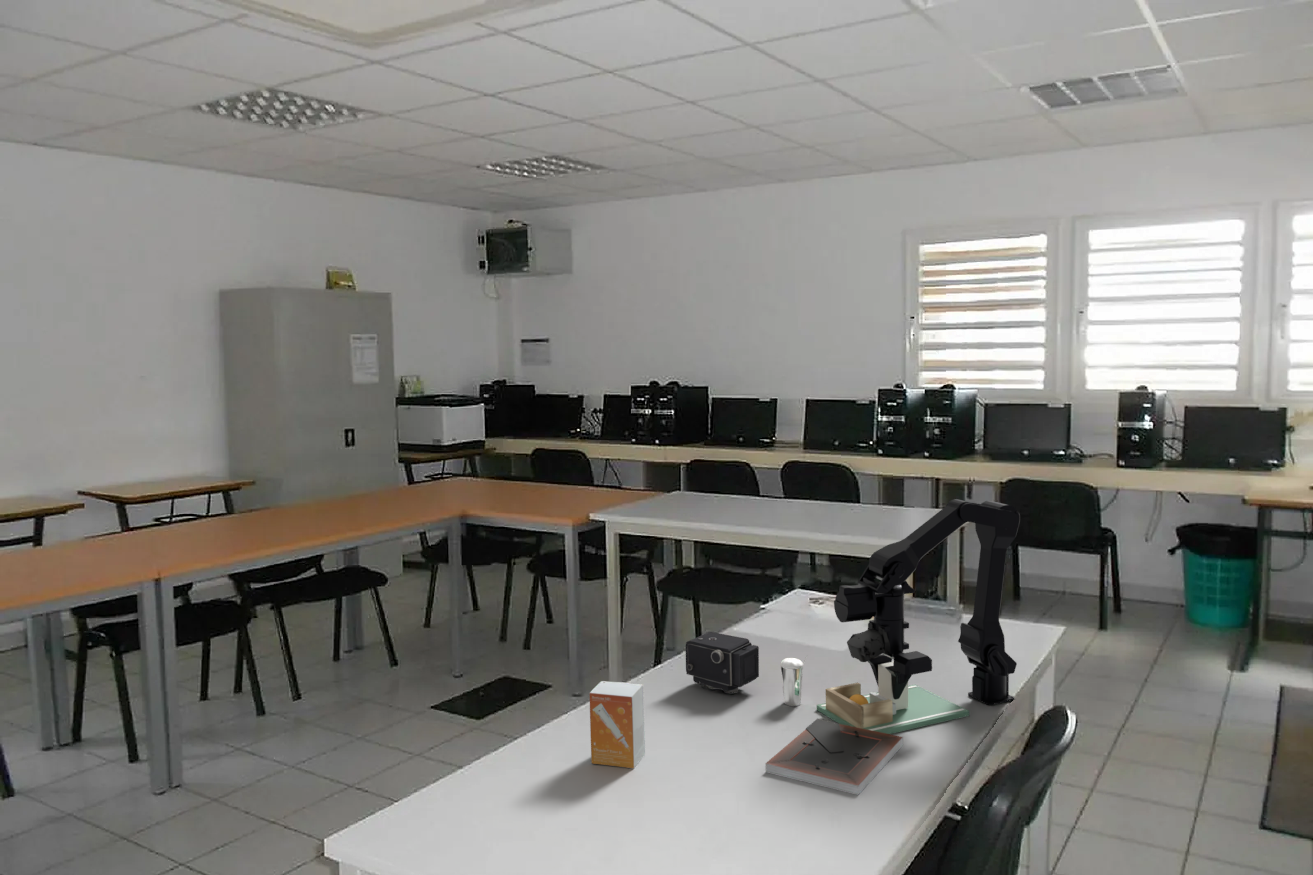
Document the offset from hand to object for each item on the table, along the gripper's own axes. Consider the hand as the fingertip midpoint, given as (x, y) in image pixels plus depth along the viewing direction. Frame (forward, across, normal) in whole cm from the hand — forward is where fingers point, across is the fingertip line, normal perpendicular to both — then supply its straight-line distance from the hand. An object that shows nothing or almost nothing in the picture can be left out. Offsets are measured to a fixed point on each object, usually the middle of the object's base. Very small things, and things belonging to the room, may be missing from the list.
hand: (889, 695), depth 183 cm
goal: (+3, 0, -7) cm, 7 cm away
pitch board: (+4, 0, +1) cm, 4 cm away
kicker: (+2, 0, +1) cm, 2 cm away
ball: (+1, 0, -7) cm, 7 cm away
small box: (+4, -5, -54) cm, 55 cm away
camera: (+4, -27, -22) cm, 35 cm away
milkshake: (+4, -13, -13) cm, 19 cm away
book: (+5, +12, -20) cm, 24 cm away
